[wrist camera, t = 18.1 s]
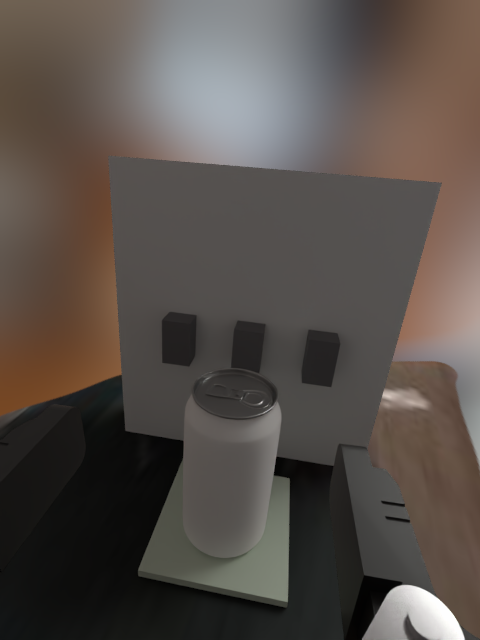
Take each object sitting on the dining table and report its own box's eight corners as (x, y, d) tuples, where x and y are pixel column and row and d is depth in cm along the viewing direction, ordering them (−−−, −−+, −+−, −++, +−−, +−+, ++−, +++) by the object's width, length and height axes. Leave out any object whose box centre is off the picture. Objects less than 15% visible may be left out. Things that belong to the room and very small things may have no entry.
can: (255, 575, 23) (276, 434, 19) (167, 545, 25) (166, 407, 20) (272, 497, 29) (291, 375, 25) (200, 477, 31) (205, 357, 26)
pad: (286, 607, 22) (287, 602, 22) (138, 576, 23) (137, 570, 23) (288, 483, 31) (289, 478, 31) (182, 464, 33) (182, 459, 32)
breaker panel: (365, 487, 32) (454, 182, 22) (116, 444, 34) (94, 153, 24) (353, 435, 38) (417, 182, 28) (144, 402, 41) (136, 159, 31)
